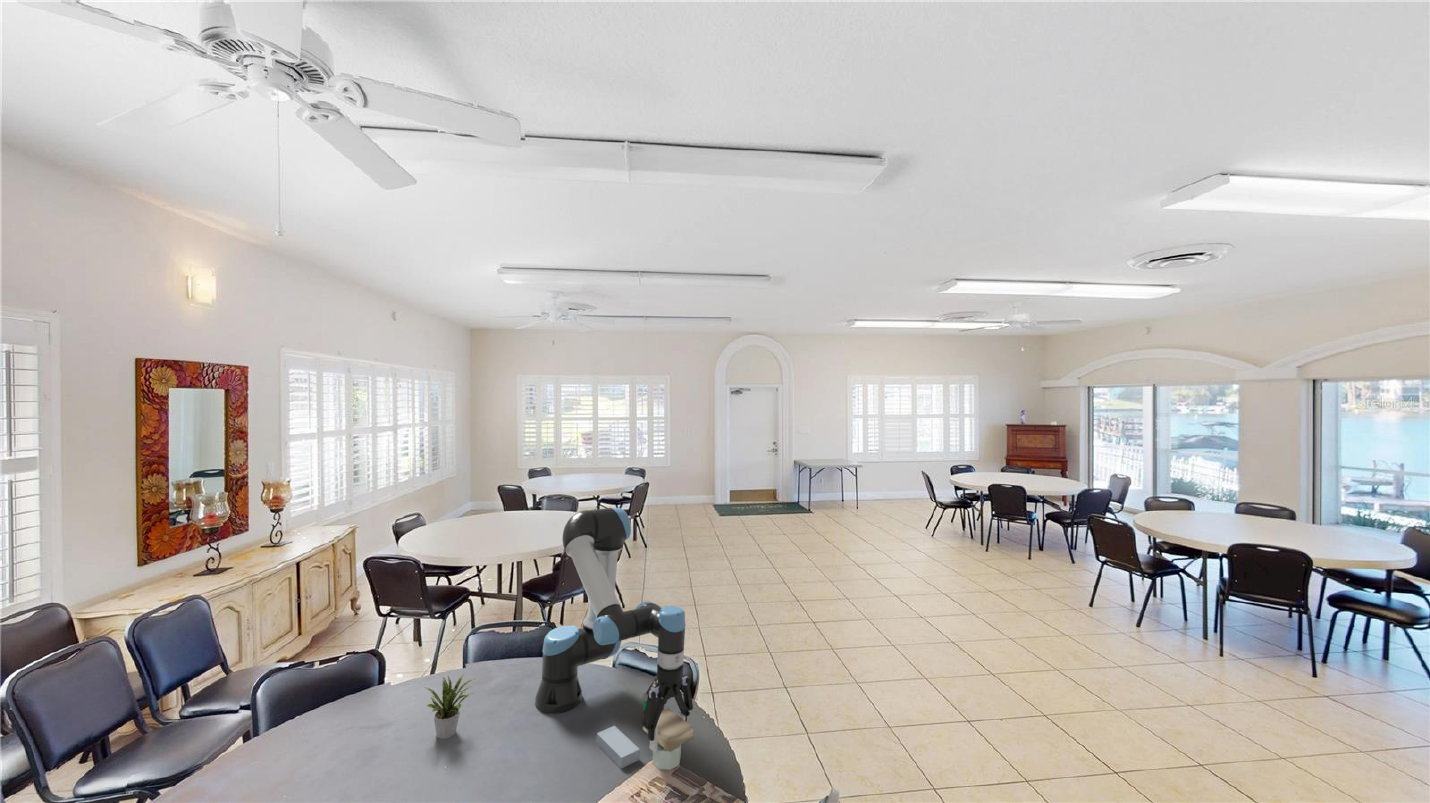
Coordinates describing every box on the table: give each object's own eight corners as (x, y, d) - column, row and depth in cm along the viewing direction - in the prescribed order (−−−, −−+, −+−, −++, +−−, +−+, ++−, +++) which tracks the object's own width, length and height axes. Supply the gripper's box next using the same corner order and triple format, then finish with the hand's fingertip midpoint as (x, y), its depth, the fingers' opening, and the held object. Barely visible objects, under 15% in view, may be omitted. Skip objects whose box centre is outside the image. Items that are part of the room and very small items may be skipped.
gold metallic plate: (642, 729, 149) (643, 718, 149) (668, 718, 155) (668, 707, 155) (667, 750, 140) (667, 739, 140) (693, 737, 146) (693, 727, 146)
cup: (648, 758, 147) (648, 740, 148) (669, 747, 152) (670, 730, 153) (663, 773, 142) (664, 754, 142) (685, 761, 147) (686, 743, 147)
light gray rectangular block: (596, 743, 153) (596, 733, 153) (614, 735, 157) (614, 725, 157) (621, 768, 143) (621, 757, 143) (639, 759, 147) (639, 748, 147)
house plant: (486, 728, 159) (489, 674, 159) (446, 754, 146) (449, 695, 147) (454, 715, 165) (456, 663, 165) (413, 739, 152) (416, 683, 153)
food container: (660, 729, 161) (661, 697, 162) (641, 726, 163) (643, 694, 163) (671, 707, 173) (672, 677, 174) (654, 704, 175) (655, 675, 175)
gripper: (646, 681, 138) (642, 766, 137) (707, 657, 152) (704, 735, 152) (630, 669, 143) (627, 751, 143) (691, 648, 158) (688, 722, 157)
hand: (667, 743), depth 147 cm, fingers closed on gold metallic plate, 9 cm apart
